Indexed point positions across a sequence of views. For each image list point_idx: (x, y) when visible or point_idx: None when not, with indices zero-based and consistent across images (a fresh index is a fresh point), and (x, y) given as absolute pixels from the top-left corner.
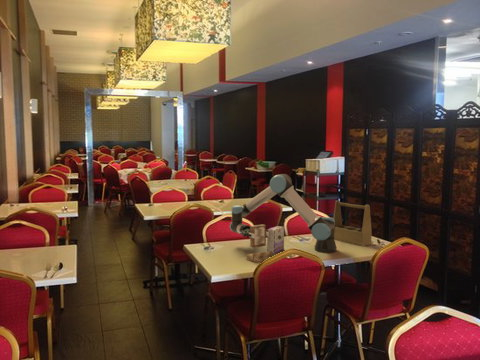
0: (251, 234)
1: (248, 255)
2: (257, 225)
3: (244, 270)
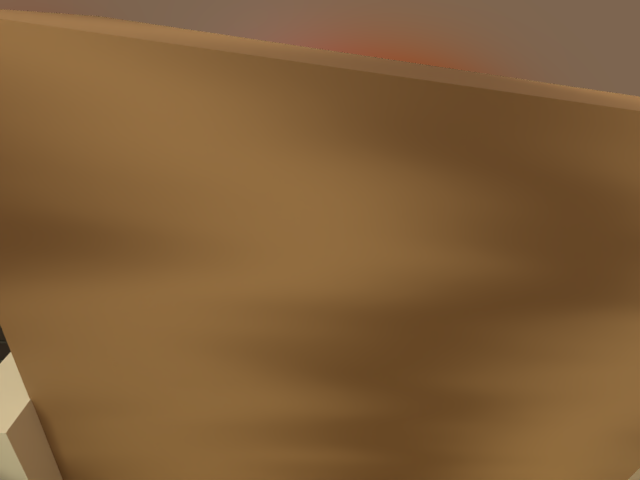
0: None
1: None
2: (459, 76)
3: None
